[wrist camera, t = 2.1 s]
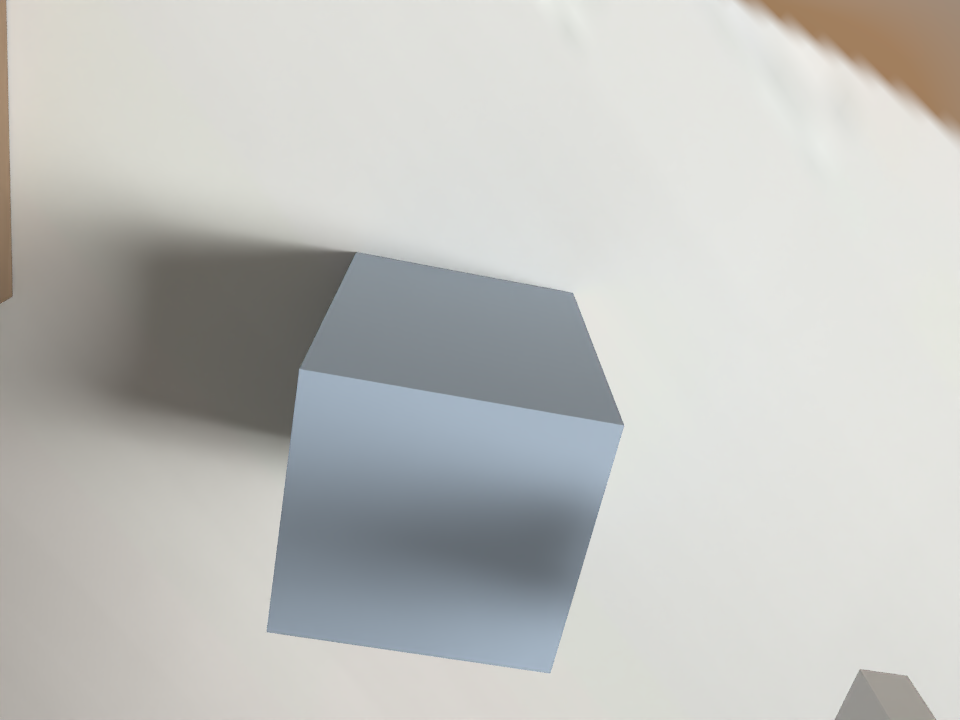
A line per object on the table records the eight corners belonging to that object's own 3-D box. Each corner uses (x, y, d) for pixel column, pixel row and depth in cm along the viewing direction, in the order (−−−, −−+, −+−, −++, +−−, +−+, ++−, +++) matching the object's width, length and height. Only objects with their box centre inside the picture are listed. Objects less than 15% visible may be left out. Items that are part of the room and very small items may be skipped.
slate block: (572, 292, 22) (624, 425, 15) (525, 478, 25) (550, 673, 17) (356, 251, 22) (298, 368, 15) (328, 445, 24) (266, 631, 17)
